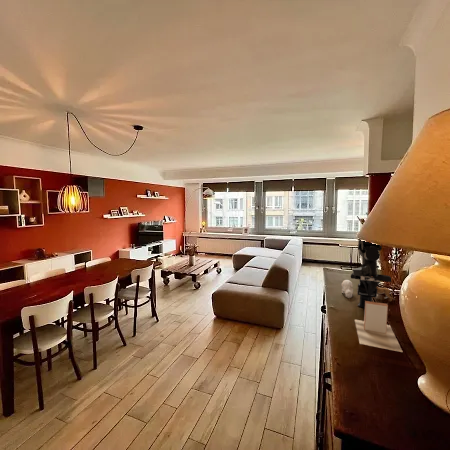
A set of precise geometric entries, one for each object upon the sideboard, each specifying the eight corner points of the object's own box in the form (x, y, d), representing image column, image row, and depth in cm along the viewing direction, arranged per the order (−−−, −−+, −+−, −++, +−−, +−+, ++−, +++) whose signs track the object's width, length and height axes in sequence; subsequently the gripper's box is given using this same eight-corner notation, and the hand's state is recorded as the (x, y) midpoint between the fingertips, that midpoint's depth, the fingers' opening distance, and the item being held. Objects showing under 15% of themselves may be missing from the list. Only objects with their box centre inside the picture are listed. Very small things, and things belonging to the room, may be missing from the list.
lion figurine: (365, 297, 146) (366, 282, 145) (365, 294, 151) (366, 280, 150) (395, 302, 140) (396, 286, 139) (394, 299, 144) (395, 284, 144)
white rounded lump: (352, 279, 153) (355, 287, 142) (351, 292, 154) (355, 301, 143) (341, 278, 155) (343, 286, 144) (340, 291, 157) (342, 299, 145)
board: (354, 321, 117) (354, 319, 117) (389, 327, 111) (389, 325, 111) (359, 346, 96) (359, 343, 96) (402, 354, 91) (403, 352, 91)
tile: (363, 327, 109) (365, 300, 108) (385, 331, 106) (386, 303, 105) (364, 330, 107) (365, 303, 106) (386, 333, 104) (388, 306, 103)
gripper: (342, 260, 129) (341, 291, 126) (372, 260, 111) (372, 296, 108) (360, 263, 131) (359, 294, 128) (392, 263, 114) (392, 299, 111)
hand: (369, 295), depth 119 cm, fingers closed
